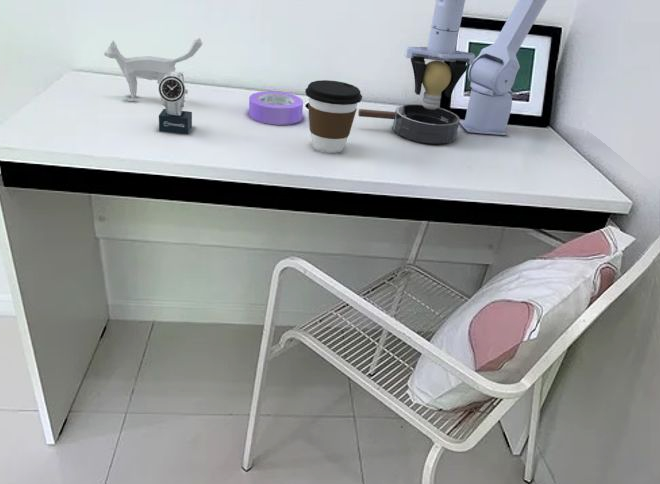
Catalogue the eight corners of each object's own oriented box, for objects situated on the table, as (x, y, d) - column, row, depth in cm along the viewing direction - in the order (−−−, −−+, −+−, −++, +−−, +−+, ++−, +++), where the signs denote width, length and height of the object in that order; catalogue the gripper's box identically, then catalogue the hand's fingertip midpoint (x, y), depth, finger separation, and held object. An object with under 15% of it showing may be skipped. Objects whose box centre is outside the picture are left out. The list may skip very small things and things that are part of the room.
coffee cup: (328, 134, 134) (335, 77, 127) (366, 152, 128) (374, 92, 121) (289, 143, 127) (294, 82, 120) (326, 161, 121) (333, 99, 114)
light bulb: (437, 114, 135) (446, 66, 129) (410, 106, 137) (418, 59, 132) (449, 109, 140) (458, 62, 134) (423, 101, 142) (431, 55, 137)
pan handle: (393, 118, 140) (394, 110, 139) (394, 120, 138) (396, 113, 138) (357, 115, 138) (358, 107, 138) (358, 117, 137) (359, 110, 136)
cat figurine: (109, 93, 139) (104, 26, 131) (203, 101, 142) (203, 35, 135) (106, 100, 135) (100, 30, 128) (201, 107, 139) (202, 40, 131)
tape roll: (261, 126, 133) (262, 108, 131) (240, 108, 141) (241, 91, 139) (310, 123, 138) (312, 106, 136) (288, 106, 147) (289, 90, 145)
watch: (156, 134, 122) (154, 76, 116) (166, 121, 129) (164, 65, 123) (186, 137, 122) (185, 80, 117) (194, 124, 129) (193, 69, 123)
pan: (446, 125, 149) (450, 107, 146) (463, 147, 137) (467, 127, 135) (387, 121, 147) (390, 101, 144) (399, 142, 135) (402, 122, 132)
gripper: (415, 28, 125) (403, 97, 132) (484, 36, 128) (469, 103, 135) (407, 21, 131) (396, 87, 138) (474, 29, 133) (460, 93, 141)
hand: (432, 94), depth 137 cm, fingers closed on light bulb, 6 cm apart
